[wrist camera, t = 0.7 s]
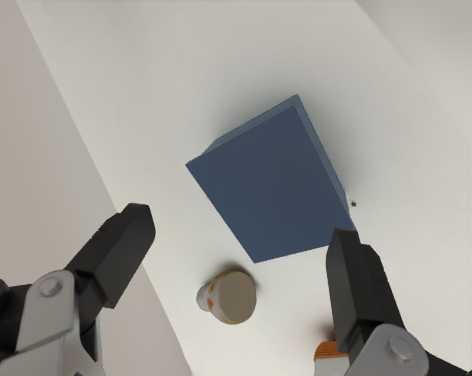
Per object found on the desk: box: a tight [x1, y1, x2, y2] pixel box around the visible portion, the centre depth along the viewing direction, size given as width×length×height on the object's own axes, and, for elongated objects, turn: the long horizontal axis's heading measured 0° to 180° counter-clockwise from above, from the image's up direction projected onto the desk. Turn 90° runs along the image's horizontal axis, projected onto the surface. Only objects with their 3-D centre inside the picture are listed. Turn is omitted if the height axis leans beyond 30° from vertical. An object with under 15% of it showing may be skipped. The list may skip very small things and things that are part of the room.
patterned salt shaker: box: [196, 271, 256, 324], centre depth 38 cm, size 8×10×10 cm
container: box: [186, 94, 359, 263], centre depth 25 cm, size 13×11×7 cm
